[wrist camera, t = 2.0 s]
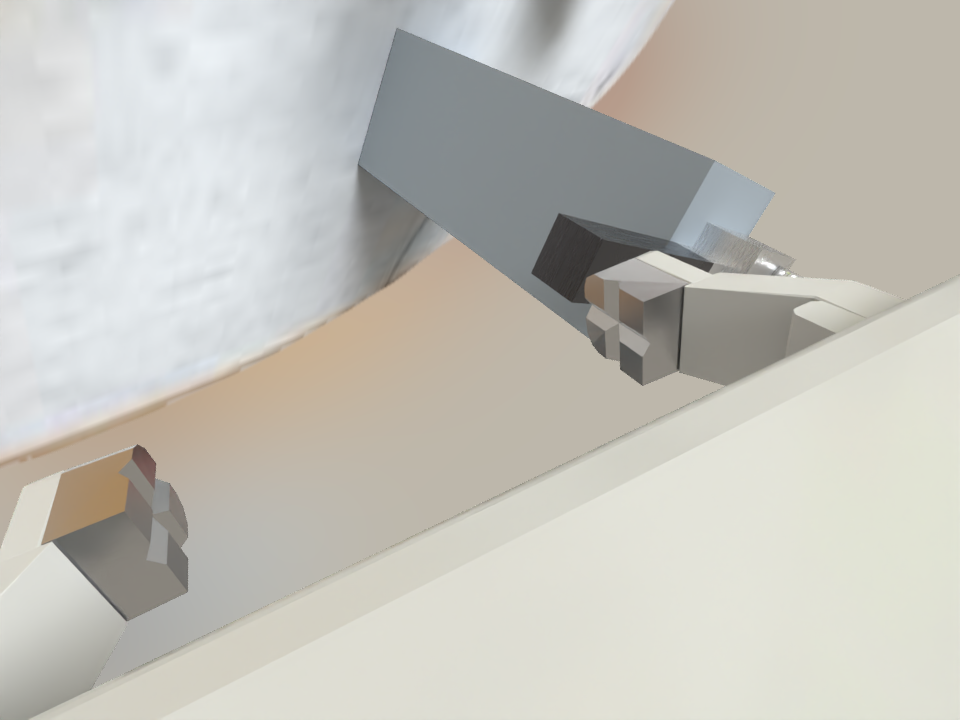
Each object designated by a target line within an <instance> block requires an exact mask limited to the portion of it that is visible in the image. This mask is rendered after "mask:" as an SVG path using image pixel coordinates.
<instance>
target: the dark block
mask: <svg viewBox="0 0 960 720" xmlns="http://www.w3.org/2000/svg"><path fill="white" fill-rule="evenodd" d="M649 251H659V252H662V253H664V254H666V255H669V256H671V257H673V258H675V259H678V260H680V261H682V262H685V263H687V264H689V265H691V266H694V267H696V268H698V269H700V270H703V271H705V272H707V273H710V274H712V275H714V274H716V273H719V272H721V273H737V274H753V275H770V276H786V277H802V276H800V275H798V274H796V273H794V272H792V271H790V270H789V269H790V267H791V266H792V264H793V263H794V261H795V259H794V258H792V257H790V256H788V255H786V254H784V253H781V252H779V251H777V250H775V249H773V248H771V247H769V246H767V245H765V244H763V243H761V242H759V241H757V240H755V239H753V238H751V237H749V236H747V235H745V234H742V233H739V232H736V231H733V230H730V229H727V228H724V227H721V226H718V225H715V224H712V223H709V222H707V224H706V225H705V227H704V229H703V231H702V232H701V234H700V236H699V237H698V239H697V241H696V243H695V244H694V246H689V245H685V244H681V243H677V242H673V241H669V240H665V239H661V238H657V237H653V236H649V235H645V234H641V233H637V232H633V231H629V230H625V229H621V228H617V227H613V226H609V225H605V224H601V223H597V222H593V221H589V220H585V219H581V218H577V217H573V216H569V215H565V214H561V213H559V214H558V216H557V218H556V220H555V222H554V224H553V227H552V229H551V231H550V233H549V235H548V237H547V240H546V242H545V244H544V246H543V248H542V250H541V253H540V255H539V257H538V259H537V261H536V263H535V266H534V268H533V270H532V272H531V274H533V275H534V276H535V277H537V278H538V279H539V280H541V281H542V282H544V283H545V284H546V285H548V286H549V287H551V288H552V289H553V290H555V291H556V292H558V293H559V294H560V295H562V296H563V297H564V298H566V299H567V300H569V301H570V302H571V303H583V304H590V303H589V302H588V301H587V300H586V299H585V290H584V286H585V282H586V278H587V277H589V276H591V275H593V274H596V273H598V272H600V271H603V270H605V269H608V268H610V267H613V266H615V265H618V264H620V263H623V262H625V261H628V260H630V259H633V258H635V257H637V256H640V255H642V254H644V253H647V252H649ZM802 278H804V277H802Z"/></svg>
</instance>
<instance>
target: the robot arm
mask: <svg viewBox="0 0 960 720" xmlns="http://www.w3.org/2000/svg"><path fill="white" fill-rule="evenodd" d="M584 290H585V299H586V300H587V301H588V302H589V303H590V304H591V305H592V306H591V308H590V310H589V312H588V314H587V316H586V324H587V333H588V335H589V338H590V340H591V342H592V345H593V346H594V347H595V349H596V350H597V351H598V353H600V354H601V355H602V356H603V357H605V358H606V359H611V360H616V361H620V369H621V370H622V371H623V372H625V373H626V374H627V375H629V376H630V377H631V378H633V379H634V380H635V381H637V382H638V383H639V384H641V385H642V386H644V385H646V384H648V383H651V382H653V381H655V380H658V379H660V378H662V377H665V376H667V375H670V374H672V373H674V372H677V371H679V372H680V373H683V374H687V375H690V376H693V377H697V378H700V379H704V380H708V381H711V382H714V383H718V384H722V385H725V387H723V388H721V389H719V390H717V391H715V392H712V393H710V394H709V395H706V396H704V397H702V398H700V399H698V400H696V401H694V402H692V403H689V404H687V405H685V406H683V407H681V408H679V409H677V410H675V411H673V412H671V413H669V414H666V415H664V416H662V417H660V418H658V419H656V420H654V421H652V422H650V423H648V424H646V425H644V426H642V427H639V428H637V429H635V430H633V431H631V432H629V433H627V434H625V435H623V436H620V437H618V438H616V439H614V440H612V441H610V442H608V443H606V444H604V445H602V446H600V447H597V448H595V449H593V450H591V451H589V452H587V453H585V454H583V455H581V456H579V457H577V458H574V459H573V460H570V461H568V462H566V463H564V464H562V465H560V466H558V467H556V468H554V469H551V470H549V471H547V472H545V473H543V474H541V475H539V476H537V477H535V478H533V479H531V480H528V481H526V482H524V483H522V484H520V485H518V486H516V487H514V488H512V489H510V490H508V491H505V492H503V493H501V494H499V495H497V496H495V497H493V498H491V499H489V500H487V501H485V502H482V503H480V504H478V505H476V506H474V507H472V508H470V509H468V510H466V511H464V512H462V513H459V514H457V515H455V516H453V517H451V518H449V519H447V520H445V521H443V522H441V523H438V524H436V525H434V526H432V527H430V528H428V529H426V530H424V531H422V532H420V533H418V534H415V535H414V536H411V537H409V538H407V539H405V540H403V541H401V542H399V543H397V544H395V545H393V546H390V547H388V548H386V549H384V550H382V551H380V552H378V553H376V554H374V555H372V556H369V557H367V558H365V559H363V560H361V561H359V562H357V563H355V564H353V565H351V566H348V567H346V568H344V569H343V570H340V571H338V572H336V573H334V574H332V575H330V576H328V577H325V578H323V579H321V580H319V581H317V582H315V583H313V584H311V585H309V586H307V587H305V588H302V589H300V590H298V591H297V592H294V593H292V594H290V595H288V596H286V597H284V598H282V599H279V600H277V601H275V602H273V603H271V604H269V605H267V606H265V607H263V608H261V609H258V610H257V611H254V612H252V613H250V614H248V615H246V616H244V617H242V618H240V619H238V620H235V621H233V622H231V623H229V624H227V625H225V626H223V627H221V628H219V629H217V630H214V631H212V632H210V633H208V634H206V635H204V636H202V637H200V638H198V639H196V640H194V641H191V642H189V643H187V644H185V645H183V646H181V647H179V648H177V649H175V650H173V651H171V652H169V653H166V654H164V655H162V656H160V657H158V658H156V659H154V660H152V661H150V662H147V663H145V664H143V665H141V666H139V667H137V668H135V669H133V670H131V671H129V672H127V673H124V674H122V675H120V676H118V677H116V678H114V679H112V680H110V681H108V682H106V683H104V684H102V685H100V686H97V687H95V688H93V689H92V687H93V685H94V684H95V682H96V680H97V678H98V677H99V675H100V673H101V671H102V670H103V668H104V666H105V664H106V662H107V661H108V659H109V657H110V655H111V654H112V652H113V650H114V648H115V647H116V645H117V643H118V642H119V640H120V638H121V636H122V634H123V633H124V631H125V629H126V627H127V625H128V623H127V621H129V620H131V619H133V618H135V617H137V616H139V615H141V614H143V613H145V612H147V611H150V610H152V609H154V608H156V607H158V606H160V605H162V604H164V603H166V602H168V601H170V600H172V599H175V598H177V597H179V596H181V595H183V594H185V593H187V592H188V558H187V556H186V555H185V554H184V552H183V551H182V549H181V547H182V545H183V544H184V542H185V541H186V539H187V538H188V528H187V527H188V525H187V520H186V516H185V512H184V509H183V506H182V504H181V502H180V500H179V498H178V496H177V494H176V492H175V491H174V489H173V488H172V487H171V485H170V483H167V482H164V481H161V480H158V479H155V473H156V463H155V461H154V460H153V459H152V458H151V456H150V455H149V453H148V452H147V451H146V449H145V448H143V447H141V446H140V445H134V446H132V447H129V448H126V449H123V450H121V451H118V452H115V453H112V454H109V455H106V456H104V457H101V458H98V459H95V460H92V461H89V462H87V463H84V464H81V465H78V466H75V467H73V468H70V469H68V470H66V471H60V472H57V473H55V474H52V475H50V476H47V477H45V478H42V479H40V480H37V481H35V482H32V483H30V484H28V485H27V486H25V487H23V489H22V491H21V494H20V497H19V499H18V502H17V505H16V507H15V510H14V513H13V515H12V518H11V521H10V523H9V526H8V529H7V532H6V534H5V537H4V539H3V542H2V545H1V548H0V720H960V274H959V275H957V276H955V277H953V278H951V279H949V280H947V281H945V282H942V283H940V284H938V285H936V286H934V287H932V288H930V289H928V290H926V291H924V292H922V293H920V294H917V295H915V296H913V297H911V298H909V299H907V300H906V299H903V298H900V297H898V296H895V295H892V294H889V293H886V292H884V291H881V290H878V289H875V288H873V287H870V286H867V285H864V284H862V283H859V282H856V281H851V280H833V279H818V278H802V277H786V276H770V275H753V274H737V273H721V272H719V273H716V274H714V275H712V274H710V273H707V272H705V271H703V270H700V269H698V268H696V267H694V266H691V265H689V264H687V263H685V262H682V261H680V260H678V259H675V258H673V257H671V256H669V255H666V254H664V253H662V252H659V251H649V252H647V253H644V254H642V255H640V256H637V257H635V258H633V259H630V260H628V261H625V262H623V263H620V264H618V265H615V266H613V267H610V268H608V269H605V270H603V271H600V272H598V273H596V274H593V275H591V276H589V277H587V278H586V282H585V286H584Z"/></svg>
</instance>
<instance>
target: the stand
mask: <svg viewBox="0 0 960 720" xmlns="http://www.w3.org/2000/svg"><path fill="white" fill-rule="evenodd" d="M358 165H360V166H361V167H362V168H364V169H365V170H366V171H368V172H369V173H370V174H372V175H373V176H374V177H376V178H377V179H378V180H380V181H381V182H382V183H383V184H385V185H386V186H387V187H389V188H390V189H391V190H393V191H394V192H395V193H397V194H398V195H399V196H401V197H402V198H403V199H405V200H406V201H407V202H409V203H410V204H411V205H413V206H414V207H415V208H417V209H418V210H419V211H421V212H422V213H423V214H425V215H426V216H427V217H429V218H430V219H431V220H433V221H434V222H435V223H437V224H438V225H439V226H441V227H442V228H443V229H445V230H446V231H447V232H448V233H450V234H451V235H452V236H454V237H455V238H456V239H458V240H459V241H461V242H462V243H463V244H464V245H466V246H467V247H468V248H470V249H471V250H473V251H474V252H475V253H476V254H478V255H479V256H480V257H482V258H483V259H484V260H486V261H487V262H488V263H490V264H491V265H492V266H494V267H495V268H496V269H498V270H499V271H500V272H502V273H503V274H504V275H506V276H507V277H508V278H510V279H511V280H512V281H513V282H515V283H516V284H517V285H519V286H520V287H521V288H523V289H524V290H525V291H527V292H528V293H530V294H531V295H532V296H533V297H535V298H536V299H537V300H539V301H540V302H541V303H543V304H544V305H545V306H547V307H548V308H549V309H551V310H552V311H553V312H555V313H556V314H557V315H559V316H560V317H561V318H563V319H564V320H565V321H567V322H568V323H569V324H571V325H572V326H573V327H575V328H576V329H577V330H578V331H580V332H581V333H583V334H584V335H585V336H586V337H588V338H589V335H588V333H587V324H586V316H587V314H588V312H589V310H590V308H591V306H592V305H591V304H583V303H571V302H570V301H569V300H567V299H566V298H564V297H563V296H562V295H560V294H559V293H558V292H556V291H555V290H553V289H552V288H551V287H549V286H548V285H546V284H545V283H544V282H542V281H541V280H539V279H538V278H537V277H535V276H534V275H533V274H531V272H532V270H533V268H534V266H535V263H536V261H537V259H538V257H539V255H540V253H541V250H542V248H543V246H544V244H545V242H546V240H547V237H548V235H549V233H550V231H551V229H552V227H553V224H554V222H555V220H556V218H557V216H558V214H559V213H561V214H565V215H569V216H573V217H577V218H581V219H585V220H589V221H593V222H597V223H601V224H605V225H609V226H613V227H617V228H621V229H625V230H629V231H633V232H637V233H641V234H645V235H649V236H653V237H657V238H661V239H665V240H669V241H673V242H677V243H681V244H685V245H689V246H694V244H695V243H696V241H697V239H698V237H699V236H700V234H701V232H702V231H703V229H704V227H705V225H706V224H707V222H709V223H712V224H715V225H718V226H721V227H724V228H727V229H730V230H733V231H736V232H739V233H742V234H745V235H747V236H749V234H750V233H751V231H752V230H753V228H754V226H755V225H756V223H757V222H758V220H759V218H760V217H761V215H762V213H763V212H764V210H765V209H766V207H767V206H768V204H769V202H770V201H771V199H772V198H773V196H774V194H775V193H774V192H772V191H771V190H769V189H767V188H765V187H763V186H761V185H759V184H758V183H756V182H754V181H752V180H750V179H748V178H746V177H744V176H743V175H741V174H739V173H737V172H735V171H733V170H732V169H730V168H728V167H726V166H724V165H722V164H720V163H718V162H717V161H715V160H712V159H710V158H708V157H705V156H703V155H700V154H698V153H696V152H693V151H691V150H688V149H686V148H684V147H681V146H679V145H676V144H674V143H672V142H669V141H667V140H664V139H662V138H660V137H657V136H655V135H652V134H650V133H648V132H645V131H643V130H640V129H638V128H636V127H633V126H631V125H628V124H626V123H624V122H621V121H619V120H616V119H614V118H612V117H609V116H607V115H604V114H602V113H600V112H597V111H595V110H593V109H590V108H588V107H585V106H583V105H581V104H578V103H576V102H573V101H571V100H569V99H566V98H564V97H561V96H559V95H557V94H554V93H552V92H549V91H547V90H545V89H542V88H540V87H537V86H535V85H533V84H530V83H528V82H525V81H523V80H521V79H518V78H516V77H513V76H511V75H509V74H506V73H504V72H501V71H499V70H497V69H494V68H492V67H489V66H487V65H485V64H482V63H480V62H477V61H475V60H473V59H470V58H468V57H465V56H463V55H461V54H458V53H456V52H453V51H451V50H449V49H446V48H444V47H441V46H439V45H437V44H434V43H432V42H429V41H427V40H425V39H422V38H420V37H417V36H415V35H413V34H410V33H408V32H405V31H403V30H401V29H398V28H397V30H396V34H395V37H394V41H393V44H392V48H391V51H390V55H389V58H388V62H387V65H386V69H385V72H384V76H383V79H382V83H381V86H380V89H379V93H378V96H377V100H376V103H375V107H374V110H373V114H372V117H371V121H370V124H369V128H368V131H367V135H366V138H365V142H364V145H363V149H362V152H361V156H360V159H359V163H358ZM589 339H590V338H589Z"/></svg>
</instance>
